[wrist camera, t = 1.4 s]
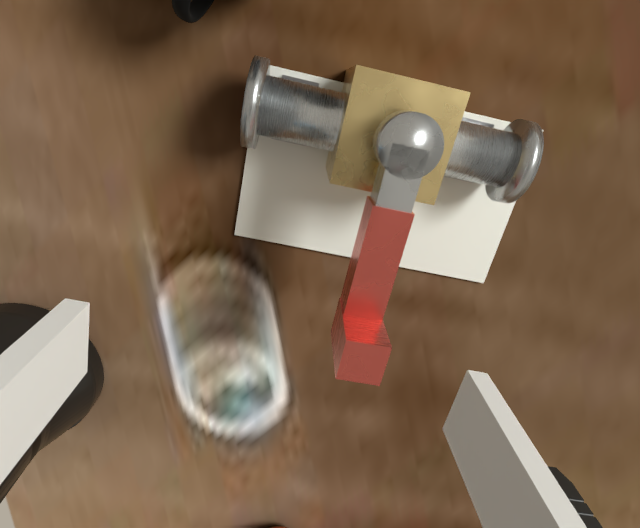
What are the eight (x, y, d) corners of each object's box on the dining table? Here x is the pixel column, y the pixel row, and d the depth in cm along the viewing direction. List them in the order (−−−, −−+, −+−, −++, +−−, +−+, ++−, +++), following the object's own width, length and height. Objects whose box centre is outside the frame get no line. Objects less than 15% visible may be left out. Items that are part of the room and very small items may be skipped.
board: (235, 233, 41) (234, 234, 40) (260, 63, 35) (260, 62, 35) (481, 281, 43) (483, 283, 43) (541, 129, 38) (543, 130, 38)
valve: (247, 148, 38) (229, 166, 29) (262, 50, 35) (247, 36, 26) (481, 199, 40) (530, 229, 31) (513, 110, 37) (577, 116, 28)
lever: (381, 104, 28) (400, 107, 22) (440, 117, 28) (474, 124, 22) (324, 329, 34) (328, 377, 28) (373, 337, 34) (386, 387, 29)
